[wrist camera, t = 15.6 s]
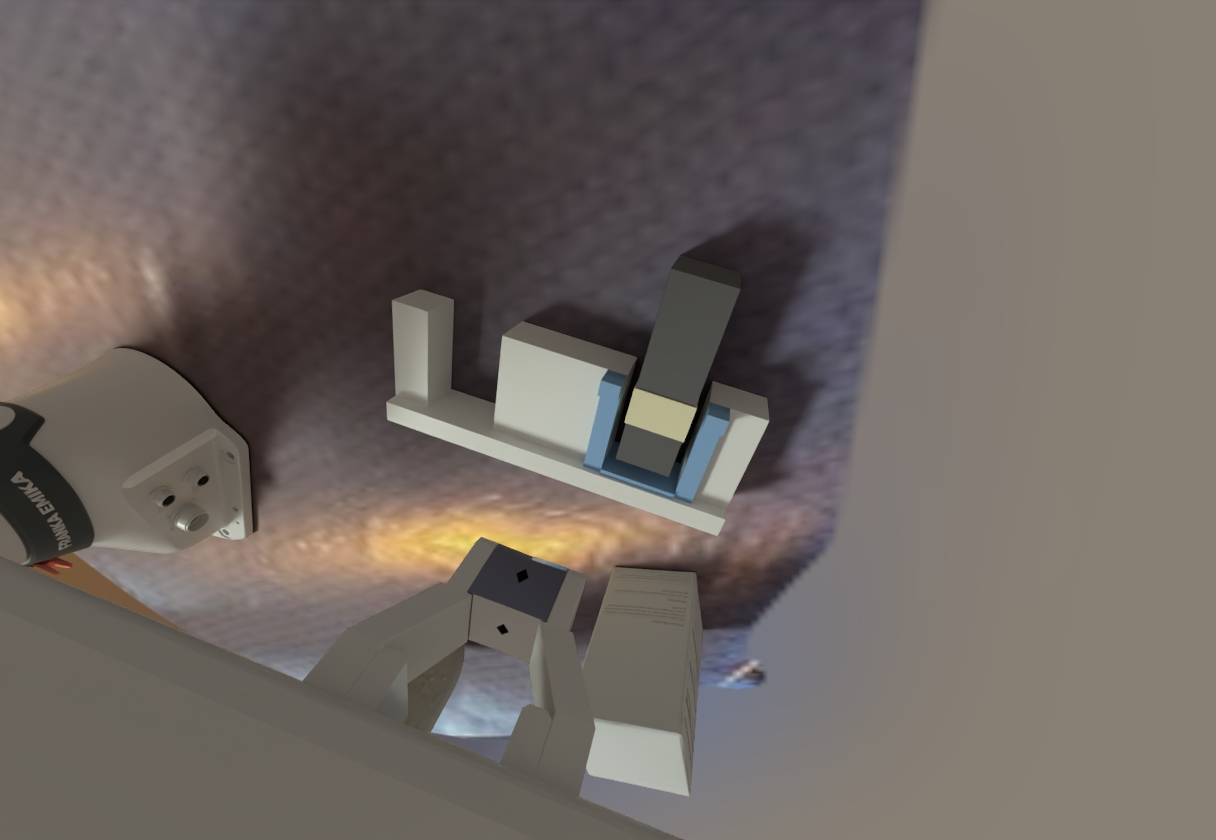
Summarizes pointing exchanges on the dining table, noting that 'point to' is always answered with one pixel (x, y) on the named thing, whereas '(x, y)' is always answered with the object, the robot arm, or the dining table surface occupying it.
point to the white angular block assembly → (567, 414)
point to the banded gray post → (677, 362)
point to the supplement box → (645, 679)
